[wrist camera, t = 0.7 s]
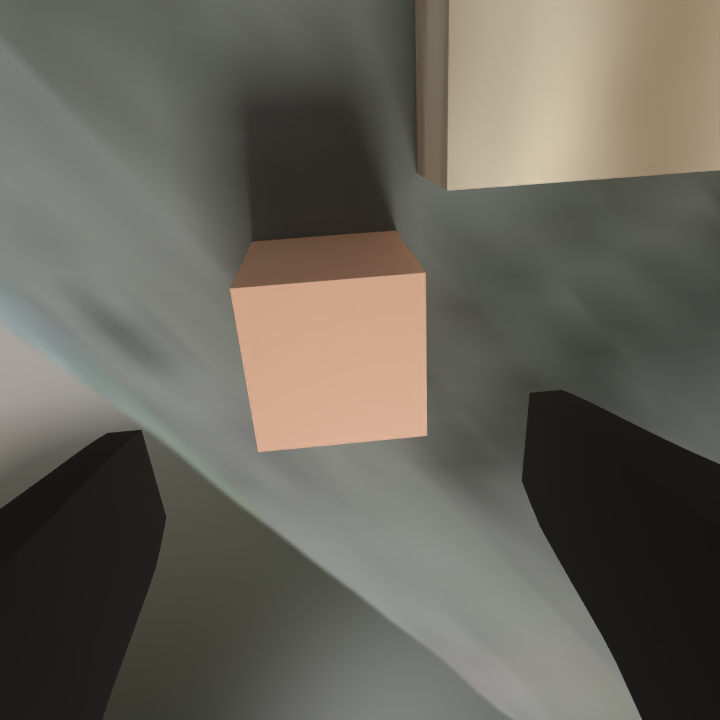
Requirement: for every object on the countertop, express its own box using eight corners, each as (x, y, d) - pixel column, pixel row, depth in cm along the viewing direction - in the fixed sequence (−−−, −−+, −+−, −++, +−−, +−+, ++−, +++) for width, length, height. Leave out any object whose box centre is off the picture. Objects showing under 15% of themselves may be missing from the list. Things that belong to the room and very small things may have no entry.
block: (396, 229, 17) (425, 272, 12) (400, 358, 19) (426, 435, 14) (252, 241, 17) (230, 288, 12) (271, 370, 19) (258, 451, 14)
